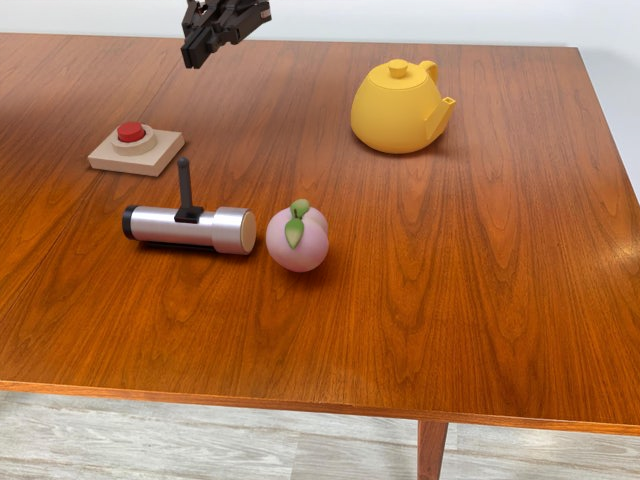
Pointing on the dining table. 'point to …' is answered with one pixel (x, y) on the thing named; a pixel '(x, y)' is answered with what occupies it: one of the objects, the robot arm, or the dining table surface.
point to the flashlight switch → (185, 182)
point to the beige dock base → (137, 152)
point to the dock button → (130, 132)
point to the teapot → (400, 107)
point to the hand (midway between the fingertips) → (189, 58)
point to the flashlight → (192, 228)
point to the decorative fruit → (298, 237)
